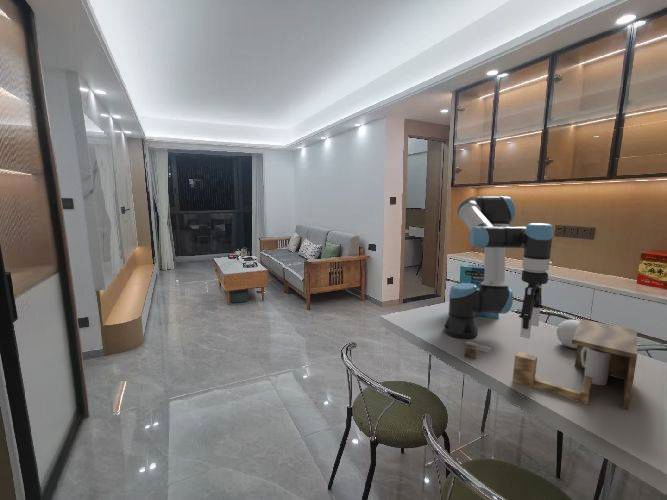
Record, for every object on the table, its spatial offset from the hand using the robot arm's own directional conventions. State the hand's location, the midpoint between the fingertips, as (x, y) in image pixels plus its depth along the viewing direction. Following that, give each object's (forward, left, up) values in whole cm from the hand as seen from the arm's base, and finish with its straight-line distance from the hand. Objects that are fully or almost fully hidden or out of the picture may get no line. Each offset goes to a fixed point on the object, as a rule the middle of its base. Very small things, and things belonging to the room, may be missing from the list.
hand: (529, 331), depth 114 cm
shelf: (+20, +15, -19) cm, 31 cm away
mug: (+17, +19, -19) cm, 32 cm away
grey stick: (-21, +16, -19) cm, 33 cm away
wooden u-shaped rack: (+7, +5, -19) cm, 21 cm away
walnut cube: (-21, +7, -19) cm, 29 cm away
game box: (-35, +58, -19) cm, 71 cm away
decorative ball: (+9, +44, -19) cm, 49 cm away
